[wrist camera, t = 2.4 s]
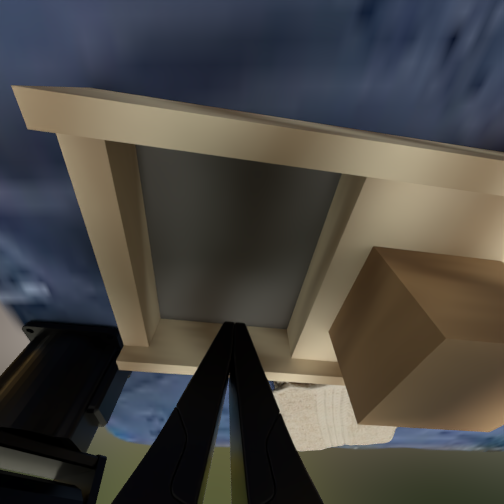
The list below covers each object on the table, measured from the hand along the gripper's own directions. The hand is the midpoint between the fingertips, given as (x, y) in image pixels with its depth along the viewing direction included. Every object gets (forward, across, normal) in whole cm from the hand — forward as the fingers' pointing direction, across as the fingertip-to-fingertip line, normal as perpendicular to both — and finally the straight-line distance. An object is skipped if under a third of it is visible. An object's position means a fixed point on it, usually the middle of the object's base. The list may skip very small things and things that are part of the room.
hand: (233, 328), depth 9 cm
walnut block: (+2, -9, 0) cm, 9 cm away
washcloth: (+6, -12, +17) cm, 21 cm away
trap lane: (+5, -14, 0) cm, 14 cm away
